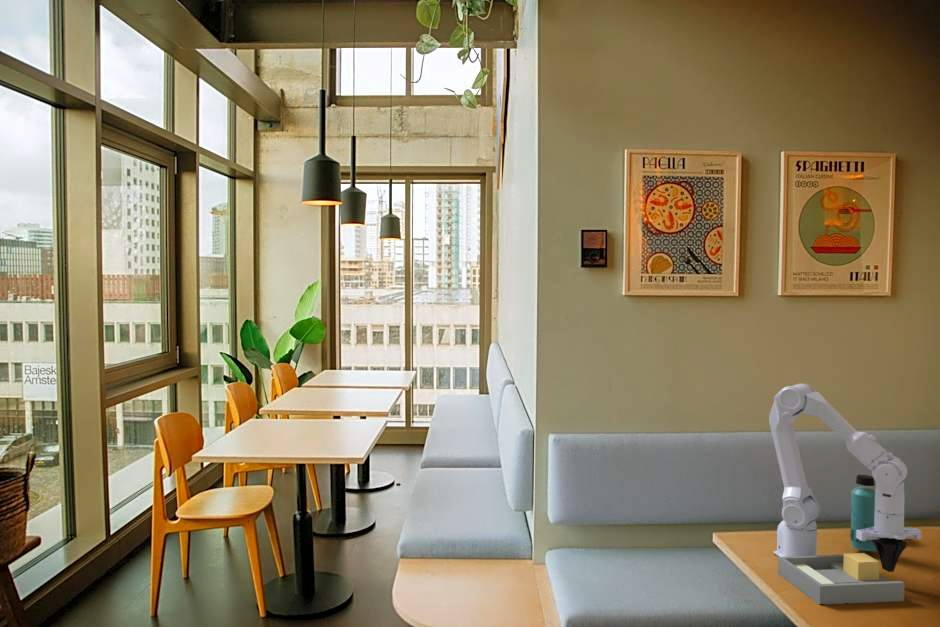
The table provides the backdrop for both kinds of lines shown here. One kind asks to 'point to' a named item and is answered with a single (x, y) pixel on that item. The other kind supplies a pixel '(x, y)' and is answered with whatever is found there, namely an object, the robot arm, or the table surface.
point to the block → (861, 566)
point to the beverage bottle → (862, 511)
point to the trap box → (836, 581)
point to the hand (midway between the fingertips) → (888, 570)
